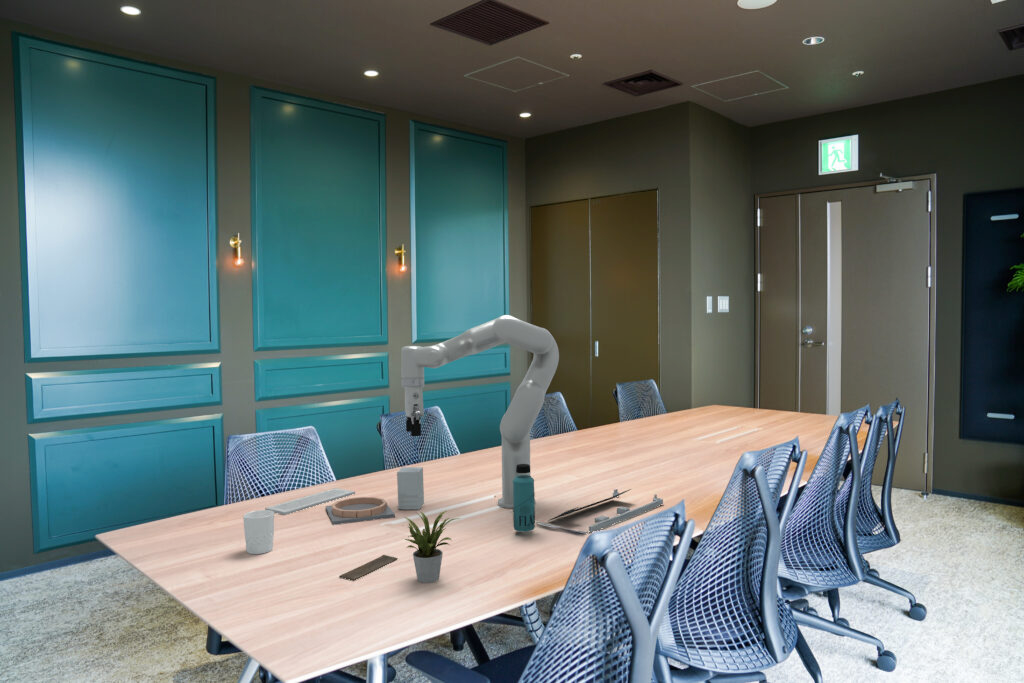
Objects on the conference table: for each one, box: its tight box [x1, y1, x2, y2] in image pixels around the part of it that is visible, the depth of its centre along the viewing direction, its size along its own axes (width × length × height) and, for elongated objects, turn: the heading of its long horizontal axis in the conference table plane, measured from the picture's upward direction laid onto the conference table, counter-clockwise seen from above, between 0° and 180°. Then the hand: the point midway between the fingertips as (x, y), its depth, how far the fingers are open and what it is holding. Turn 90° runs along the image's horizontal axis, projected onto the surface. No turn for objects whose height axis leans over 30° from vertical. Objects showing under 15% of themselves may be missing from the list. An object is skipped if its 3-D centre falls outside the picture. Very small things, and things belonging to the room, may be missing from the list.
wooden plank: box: [338, 554, 399, 581], centre depth 171 cm, size 17×1×5 cm
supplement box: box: [396, 466, 425, 510], centre depth 226 cm, size 7×7×13 cm
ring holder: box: [325, 496, 396, 525], centre depth 220 cm, size 19×19×3 cm
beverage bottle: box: [512, 464, 536, 533], centre depth 196 cm, size 6×7×20 cm
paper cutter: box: [535, 488, 664, 535], centre depth 214 cm, size 18×45×6 cm, turn 137°
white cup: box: [242, 509, 275, 555], centre depth 185 cm, size 8×8×10 cm
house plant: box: [401, 510, 461, 584], centre depth 163 cm, size 14×14×16 cm
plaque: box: [264, 487, 356, 516], centre depth 235 cm, size 30×2×10 cm
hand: (413, 433), depth 229 cm, fingers open, 9 cm apart
